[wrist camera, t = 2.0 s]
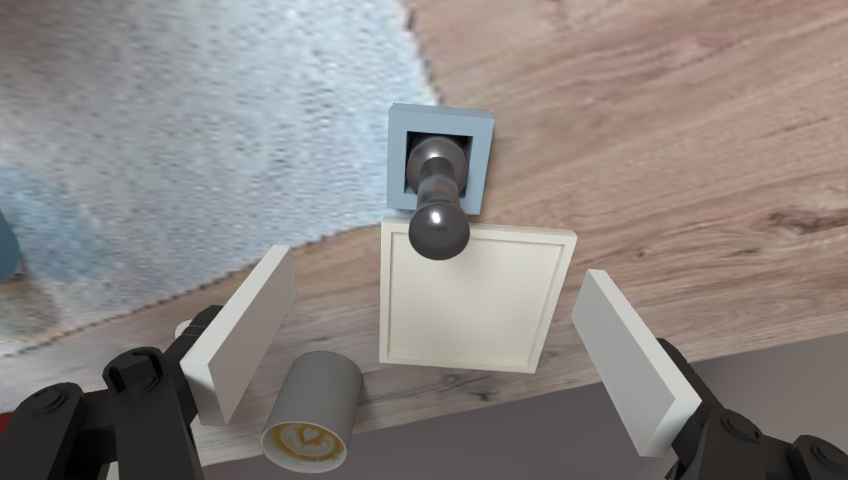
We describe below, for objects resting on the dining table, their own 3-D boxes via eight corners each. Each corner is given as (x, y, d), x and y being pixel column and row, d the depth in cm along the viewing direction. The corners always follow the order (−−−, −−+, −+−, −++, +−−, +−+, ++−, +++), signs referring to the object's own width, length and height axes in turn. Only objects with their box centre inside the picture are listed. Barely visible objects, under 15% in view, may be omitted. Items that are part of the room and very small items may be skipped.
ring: (393, 102, 32) (388, 110, 29) (488, 110, 32) (494, 118, 29) (391, 191, 36) (386, 207, 33) (474, 198, 36) (479, 214, 33)
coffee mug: (341, 343, 47) (320, 413, 38) (374, 392, 51) (361, 464, 42) (254, 367, 49) (216, 438, 40) (292, 412, 53) (265, 484, 45)
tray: (383, 216, 38) (381, 222, 36) (572, 230, 38) (577, 236, 37) (380, 353, 47) (379, 362, 46) (531, 364, 47) (534, 373, 46)
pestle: (412, 124, 33) (395, 188, 19) (466, 128, 33) (491, 195, 19) (409, 176, 35) (392, 268, 21) (459, 180, 36) (477, 275, 21)
